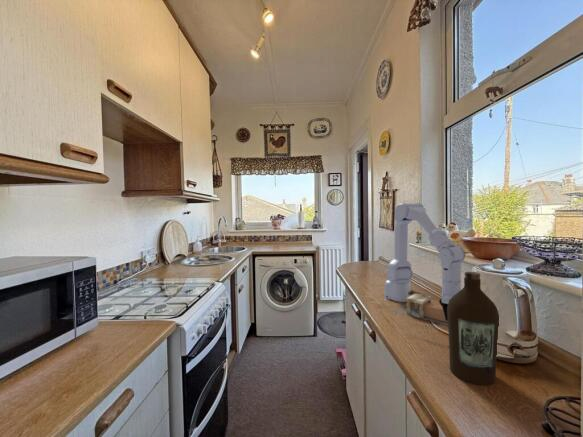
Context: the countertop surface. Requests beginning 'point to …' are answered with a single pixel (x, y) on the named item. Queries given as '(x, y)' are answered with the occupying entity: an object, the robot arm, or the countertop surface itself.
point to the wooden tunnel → (417, 299)
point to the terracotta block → (434, 311)
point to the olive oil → (473, 333)
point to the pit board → (417, 314)
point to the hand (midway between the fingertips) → (451, 318)
